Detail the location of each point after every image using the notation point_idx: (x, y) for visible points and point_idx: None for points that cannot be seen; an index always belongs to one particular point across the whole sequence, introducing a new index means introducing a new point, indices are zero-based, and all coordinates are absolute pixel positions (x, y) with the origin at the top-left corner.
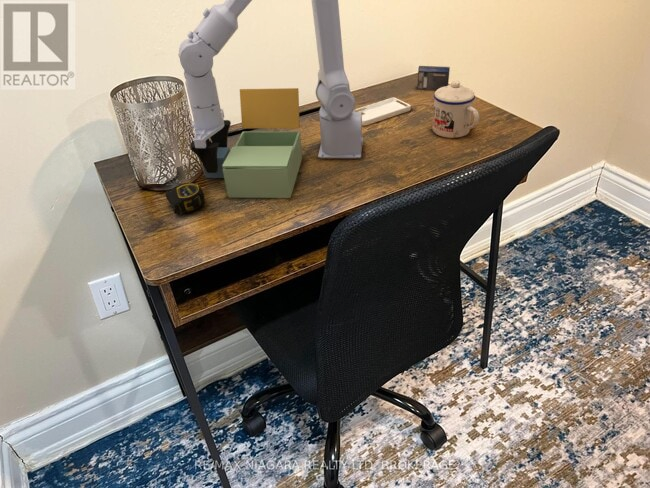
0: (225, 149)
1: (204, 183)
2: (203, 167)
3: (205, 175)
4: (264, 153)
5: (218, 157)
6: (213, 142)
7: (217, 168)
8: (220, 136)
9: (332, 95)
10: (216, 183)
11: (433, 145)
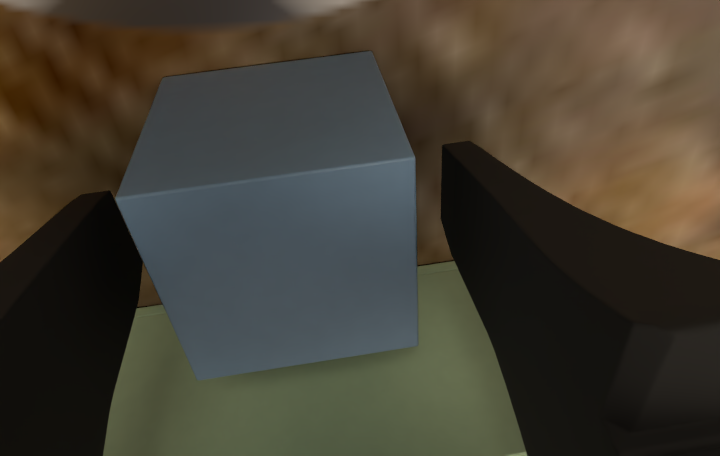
0: (372, 338)
1: (71, 105)
2: (142, 134)
3: (159, 92)
4: None
5: (195, 347)
6: (496, 219)
7: (137, 288)
8: (519, 352)
9: None
10: (115, 197)
11: None
